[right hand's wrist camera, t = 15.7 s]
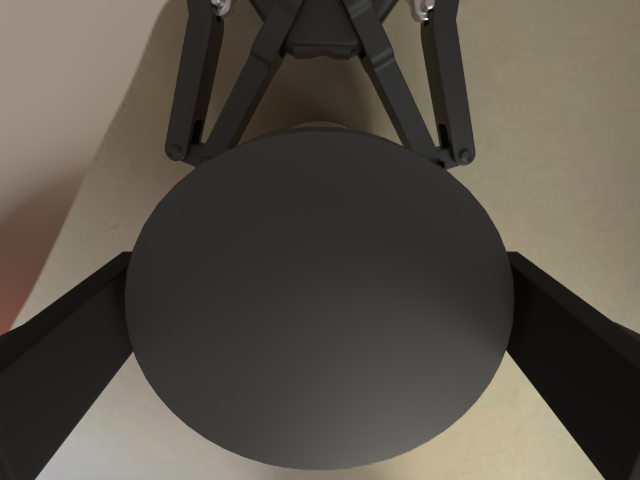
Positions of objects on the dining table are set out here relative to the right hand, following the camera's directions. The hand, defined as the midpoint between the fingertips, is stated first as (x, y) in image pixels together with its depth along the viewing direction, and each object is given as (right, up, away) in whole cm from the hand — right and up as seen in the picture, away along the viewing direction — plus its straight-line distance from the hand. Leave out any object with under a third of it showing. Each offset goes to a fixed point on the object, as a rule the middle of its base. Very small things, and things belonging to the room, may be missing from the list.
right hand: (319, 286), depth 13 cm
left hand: (0, 0, +12) cm, 12 cm away
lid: (0, -1, -2) cm, 2 cm away
